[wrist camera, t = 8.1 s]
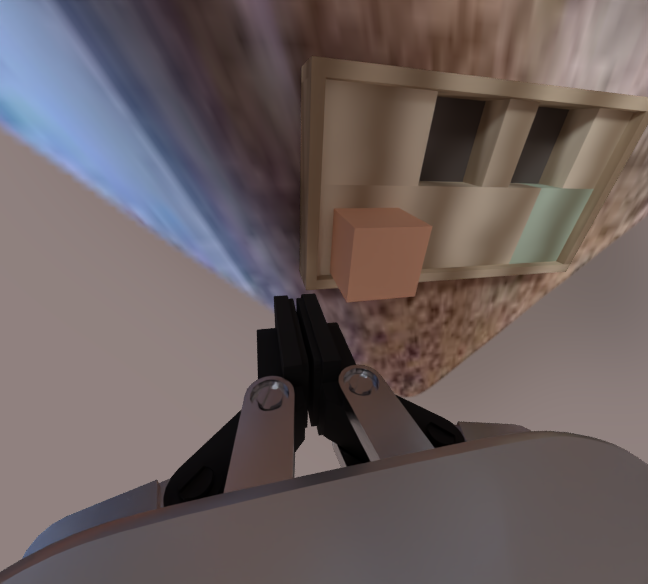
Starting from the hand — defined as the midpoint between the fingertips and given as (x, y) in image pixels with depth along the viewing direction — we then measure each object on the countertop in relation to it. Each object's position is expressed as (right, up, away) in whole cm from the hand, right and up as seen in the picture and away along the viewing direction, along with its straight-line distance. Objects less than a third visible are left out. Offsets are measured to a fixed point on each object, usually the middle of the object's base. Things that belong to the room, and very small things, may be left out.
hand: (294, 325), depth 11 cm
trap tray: (+12, +10, +12) cm, 20 cm away
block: (+4, +5, +10) cm, 12 cm away
